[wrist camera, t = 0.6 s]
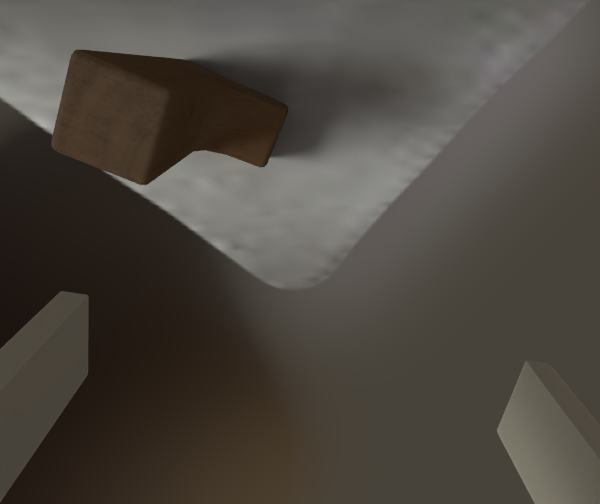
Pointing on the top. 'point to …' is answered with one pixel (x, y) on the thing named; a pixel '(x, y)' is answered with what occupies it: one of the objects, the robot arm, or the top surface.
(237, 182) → the top surface
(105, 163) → the wooden block
